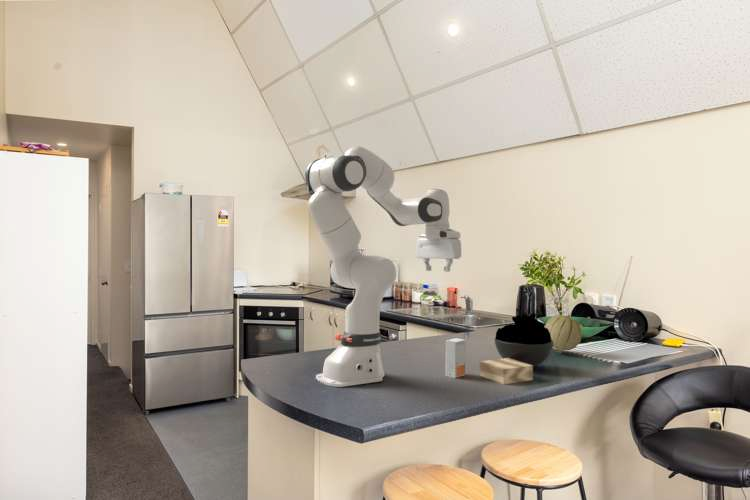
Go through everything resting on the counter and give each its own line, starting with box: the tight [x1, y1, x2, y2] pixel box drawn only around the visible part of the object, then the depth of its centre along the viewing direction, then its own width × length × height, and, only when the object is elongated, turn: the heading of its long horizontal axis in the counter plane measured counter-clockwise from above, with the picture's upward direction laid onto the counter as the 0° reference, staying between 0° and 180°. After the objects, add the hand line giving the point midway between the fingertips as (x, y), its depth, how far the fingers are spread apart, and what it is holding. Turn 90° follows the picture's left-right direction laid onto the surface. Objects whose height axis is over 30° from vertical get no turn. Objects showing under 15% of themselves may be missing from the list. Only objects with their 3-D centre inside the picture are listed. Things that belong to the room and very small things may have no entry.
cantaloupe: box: [544, 313, 583, 351], centre depth 202 cm, size 15×15×15 cm
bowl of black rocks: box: [494, 312, 554, 368], centre depth 173 cm, size 20×20×19 cm
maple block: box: [479, 358, 534, 385], centre depth 159 cm, size 12×12×5 cm
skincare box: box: [444, 337, 467, 379], centre depth 161 cm, size 6×4×12 cm
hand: (437, 271), depth 179 cm, fingers open, 8 cm apart
